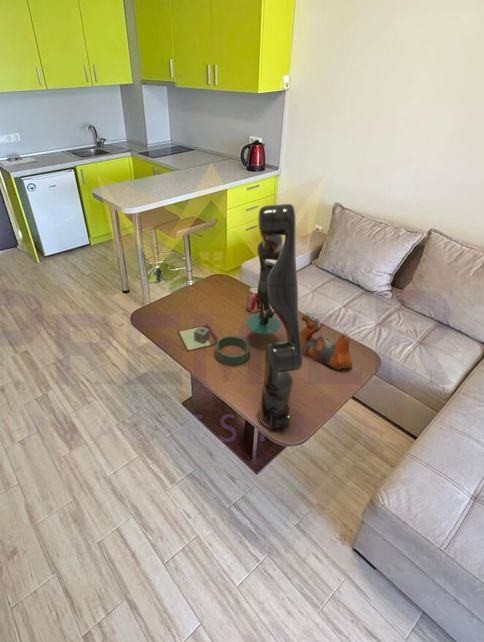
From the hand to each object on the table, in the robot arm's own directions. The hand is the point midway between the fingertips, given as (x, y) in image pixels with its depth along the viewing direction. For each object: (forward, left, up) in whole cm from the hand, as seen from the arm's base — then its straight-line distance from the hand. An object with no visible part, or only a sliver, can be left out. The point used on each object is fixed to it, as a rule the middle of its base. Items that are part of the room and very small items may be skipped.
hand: (263, 321), depth 160 cm
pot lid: (0, 0, -2) cm, 2 cm away
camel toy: (-18, -20, -12) cm, 29 cm away
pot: (-4, +16, -11) cm, 20 cm away
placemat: (+12, +26, -11) cm, 31 cm away
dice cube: (+10, +25, -11) cm, 29 cm away
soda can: (+24, -8, -11) cm, 28 cm away
